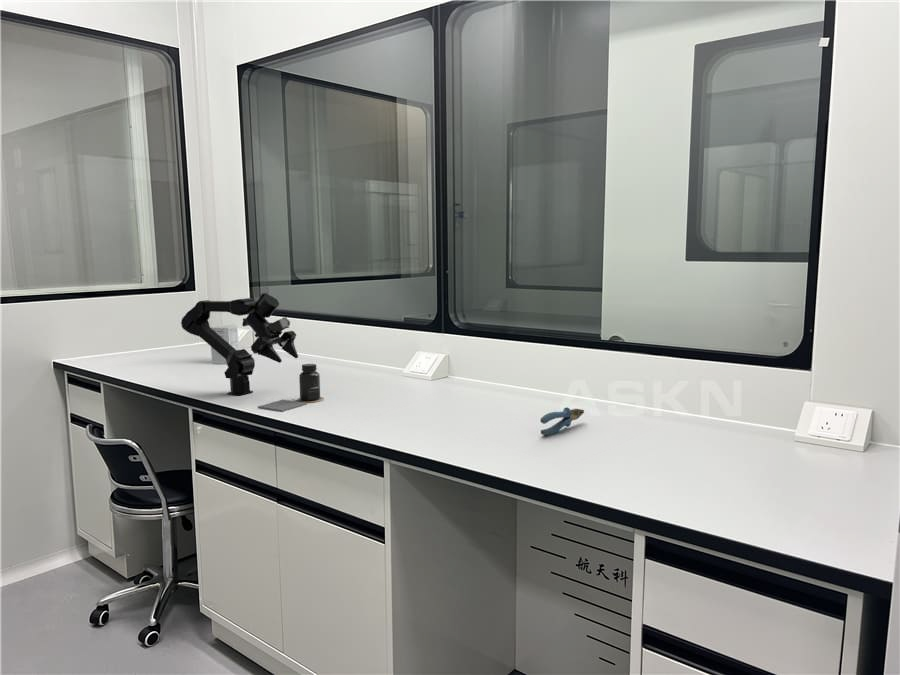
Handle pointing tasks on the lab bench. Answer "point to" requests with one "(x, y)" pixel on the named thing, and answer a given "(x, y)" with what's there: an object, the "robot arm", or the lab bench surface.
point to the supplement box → (228, 335)
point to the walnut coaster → (310, 401)
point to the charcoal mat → (282, 405)
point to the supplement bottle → (309, 383)
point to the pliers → (566, 421)
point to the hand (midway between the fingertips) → (289, 359)
